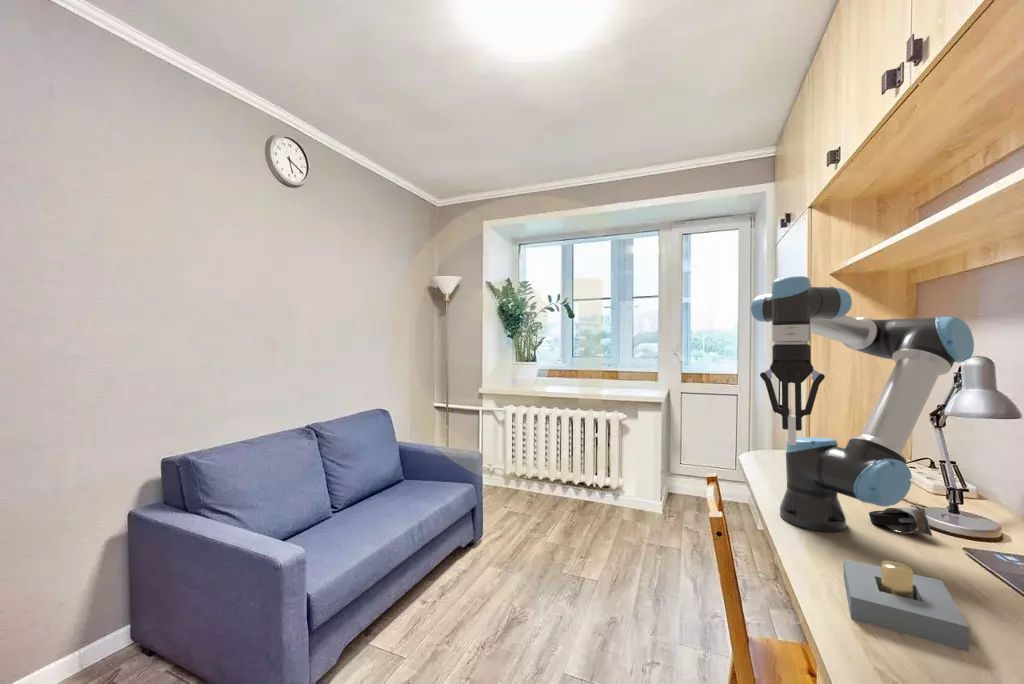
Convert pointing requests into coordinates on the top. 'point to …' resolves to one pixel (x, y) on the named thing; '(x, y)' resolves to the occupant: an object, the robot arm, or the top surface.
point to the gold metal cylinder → (896, 579)
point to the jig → (905, 606)
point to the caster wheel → (903, 519)
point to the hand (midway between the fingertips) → (792, 443)
